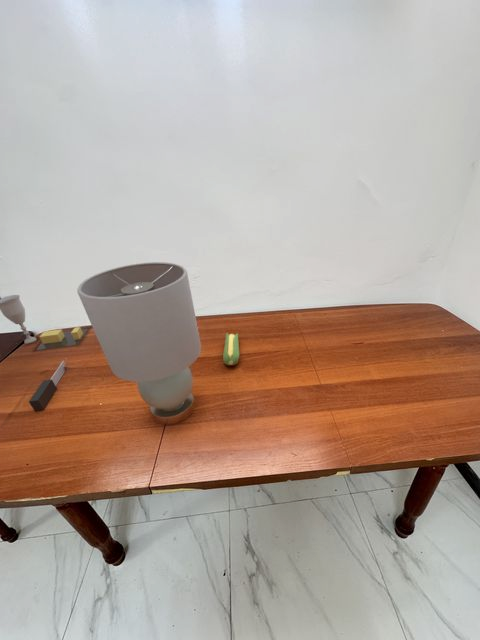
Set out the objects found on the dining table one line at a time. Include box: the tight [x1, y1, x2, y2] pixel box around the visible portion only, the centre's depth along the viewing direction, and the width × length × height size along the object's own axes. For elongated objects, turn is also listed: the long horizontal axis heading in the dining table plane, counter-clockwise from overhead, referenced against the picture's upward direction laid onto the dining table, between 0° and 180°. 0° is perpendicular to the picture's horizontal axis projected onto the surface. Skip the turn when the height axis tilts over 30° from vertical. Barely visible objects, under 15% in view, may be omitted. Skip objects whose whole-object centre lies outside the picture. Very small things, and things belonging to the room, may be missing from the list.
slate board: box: [35, 328, 89, 351], centre depth 109 cm, size 14×12×2 cm
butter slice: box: [71, 326, 83, 340], centre depth 108 cm, size 2×4×3 cm, turn 11°
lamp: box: [76, 261, 202, 426], centre depth 67 cm, size 20×20×35 cm
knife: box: [28, 360, 68, 412], centre depth 86 cm, size 2×20×4 cm, turn 10°
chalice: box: [0, 294, 37, 344], centre depth 105 cm, size 7×7×18 cm
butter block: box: [39, 328, 65, 344], centre depth 107 cm, size 6×4×3 cm, turn 100°
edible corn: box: [222, 332, 240, 366], centre depth 96 cm, size 5×20×5 cm, turn 4°
